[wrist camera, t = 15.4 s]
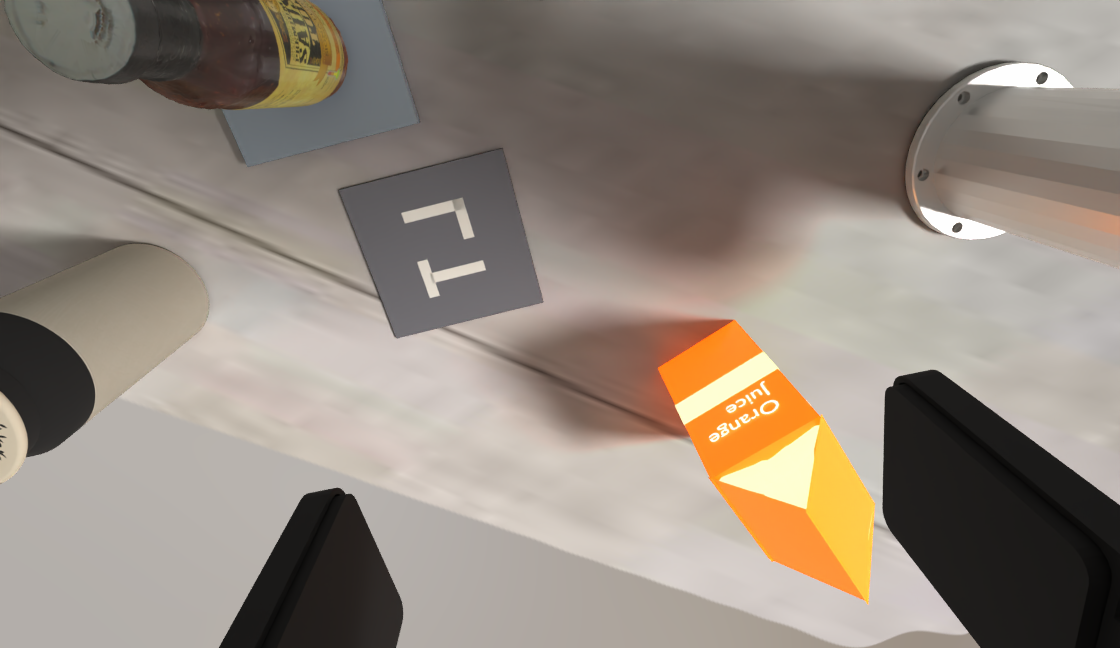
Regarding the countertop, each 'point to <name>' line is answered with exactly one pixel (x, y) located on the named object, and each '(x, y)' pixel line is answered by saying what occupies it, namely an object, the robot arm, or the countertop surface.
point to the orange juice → (774, 459)
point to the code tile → (444, 243)
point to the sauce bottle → (190, 48)
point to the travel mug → (88, 342)
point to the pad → (336, 94)
